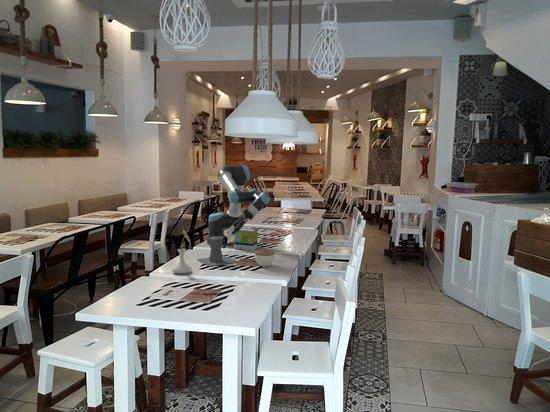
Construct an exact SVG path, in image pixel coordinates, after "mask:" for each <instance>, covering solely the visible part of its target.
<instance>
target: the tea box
mask: <svg viewBox="0 0 550 412" xmlns="http://www.w3.org/2000/svg"><path fill="white" fill-rule="evenodd" d="M233 236H234V237H233V238H234V240H233V242H234V243H233V247H234V250H245V251H254V250H255V251H256V249H258V228H247V227H242V228H241V229H240V230H239V231H237V232H236V233H235V234H234V235H233Z"/></svg>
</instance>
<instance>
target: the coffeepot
mask: <svg viewBox="0 0 550 412" xmlns="http://www.w3.org/2000/svg"><path fill="white" fill-rule="evenodd" d="M207 238H208V237H207ZM207 238H206V242H207V241H208V242H209V244H208V245H209V248H210V253H209V257H210V258H209V257H208V258H209V261H210V262H221V261H223V258H222V256H223V252H222V249H226V246H227V243H228V241H229V238H228V237H227V235H225V236H221V237H219V236H217V234H216V233H215V236H214V237H210V238H208V239H207ZM223 239H225V243H224V244H222V241H223Z"/></svg>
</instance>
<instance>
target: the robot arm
mask: <svg viewBox="0 0 550 412" xmlns="http://www.w3.org/2000/svg"><path fill="white" fill-rule="evenodd" d="M217 173H218V174H217V177H218V181H219V182H220V183H221V184H223V186H224V188H225V190H226V191H227V193H228V202H229V209H228V210H227V211H226V214H225V213H224V212H215V213H211V214H209V216H208V235H207V238H206V244H207V243H208V245H210V244H209V242H208V241H207V239H208V238H210V237H214V236H215V233H216V234H217V236H219V237H221V236H226V237H227V238H228V240H230V239H231V238H233V236H234V234H235V233H236V232H237V231H239V230H240V229H241V228H243V226H244V225H245V224H246V223H247V222H248V220H250V221H252V220H253V219H254V217H255V216H256V215H258V214H259V212H261V210H263V209H264V207H266V206H267V205H268V204H269V202H270V201H271V197H270V196H269V195H267V193H265V191H262V192H260V191H259V190H257V189H253V188H252V189H251V190H250V191H244V188H245V186H246V185H247V182H250V179H251V175H250V169H249V167H248V166H247V165H225V166H223V167H221V168H220V169H219V171H218V172H217ZM243 203H244V204H247V203H249V205H248V206H247V207H246V208H245V209H244V210H243V211H242V212H241V209H242V208H241V207H242V204H243ZM225 230H226V231H225ZM225 233H226V234H227V235H225ZM224 243H225V239H223V241H222V245H224Z"/></svg>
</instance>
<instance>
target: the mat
mask: <svg viewBox="0 0 550 412" xmlns="http://www.w3.org/2000/svg"><path fill="white" fill-rule="evenodd" d="M209 258H210V256H209V257H203V258H196V261H198V262H200V263H201V264H204V265H205V266H208V267H210V268H212V267H217V266H224V265H231V264H236V263H239V261H238V260H236V259H234V258H231V257H229V256H227V255H224V254H222V258H223V261H221V262H210V261H209Z"/></svg>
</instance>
